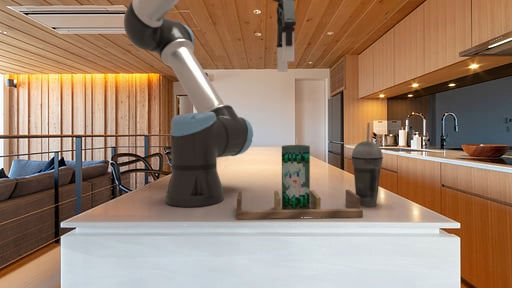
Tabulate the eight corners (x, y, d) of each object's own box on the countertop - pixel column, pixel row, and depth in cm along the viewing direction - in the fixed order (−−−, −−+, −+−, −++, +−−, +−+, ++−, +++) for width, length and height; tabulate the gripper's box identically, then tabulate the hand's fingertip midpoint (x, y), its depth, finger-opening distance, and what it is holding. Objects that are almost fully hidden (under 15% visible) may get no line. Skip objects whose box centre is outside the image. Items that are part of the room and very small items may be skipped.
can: (280, 214, 67) (280, 146, 66) (284, 207, 73) (284, 144, 72) (308, 216, 66) (308, 146, 65) (310, 208, 72) (310, 145, 71)
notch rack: (236, 219, 64) (236, 200, 64) (238, 207, 73) (238, 191, 73) (362, 217, 64) (362, 198, 64) (348, 206, 73) (348, 189, 73)
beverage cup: (377, 200, 78) (378, 122, 77) (386, 208, 71) (387, 122, 70) (348, 200, 79) (348, 123, 77) (354, 208, 71) (355, 122, 70)
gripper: (308, -46, 65) (308, 55, 66) (292, 1, 90) (293, 74, 91) (273, -46, 65) (274, 55, 66) (267, 1, 90) (268, 74, 91)
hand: (285, 66), depth 78 cm, fingers open, 13 cm apart
